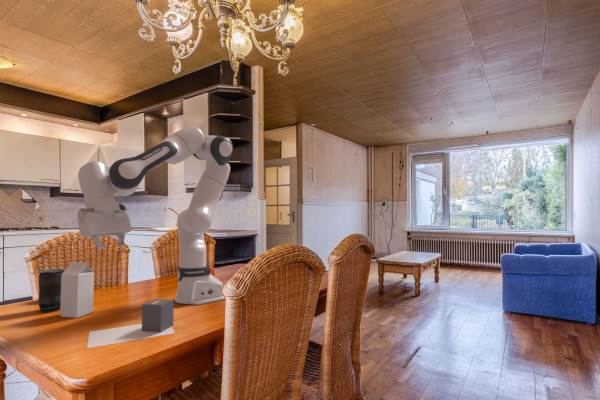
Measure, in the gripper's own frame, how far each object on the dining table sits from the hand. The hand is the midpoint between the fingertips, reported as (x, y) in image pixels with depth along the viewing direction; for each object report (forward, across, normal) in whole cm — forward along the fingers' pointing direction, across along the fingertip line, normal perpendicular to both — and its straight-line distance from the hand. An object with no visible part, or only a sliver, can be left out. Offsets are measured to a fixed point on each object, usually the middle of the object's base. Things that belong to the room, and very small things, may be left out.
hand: (112, 247), depth 111 cm
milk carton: (+18, +8, +26) cm, 33 cm away
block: (+29, -5, -12) cm, 32 cm away
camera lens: (+14, +11, +40) cm, 44 cm away
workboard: (+29, -10, -6) cm, 31 cm away
